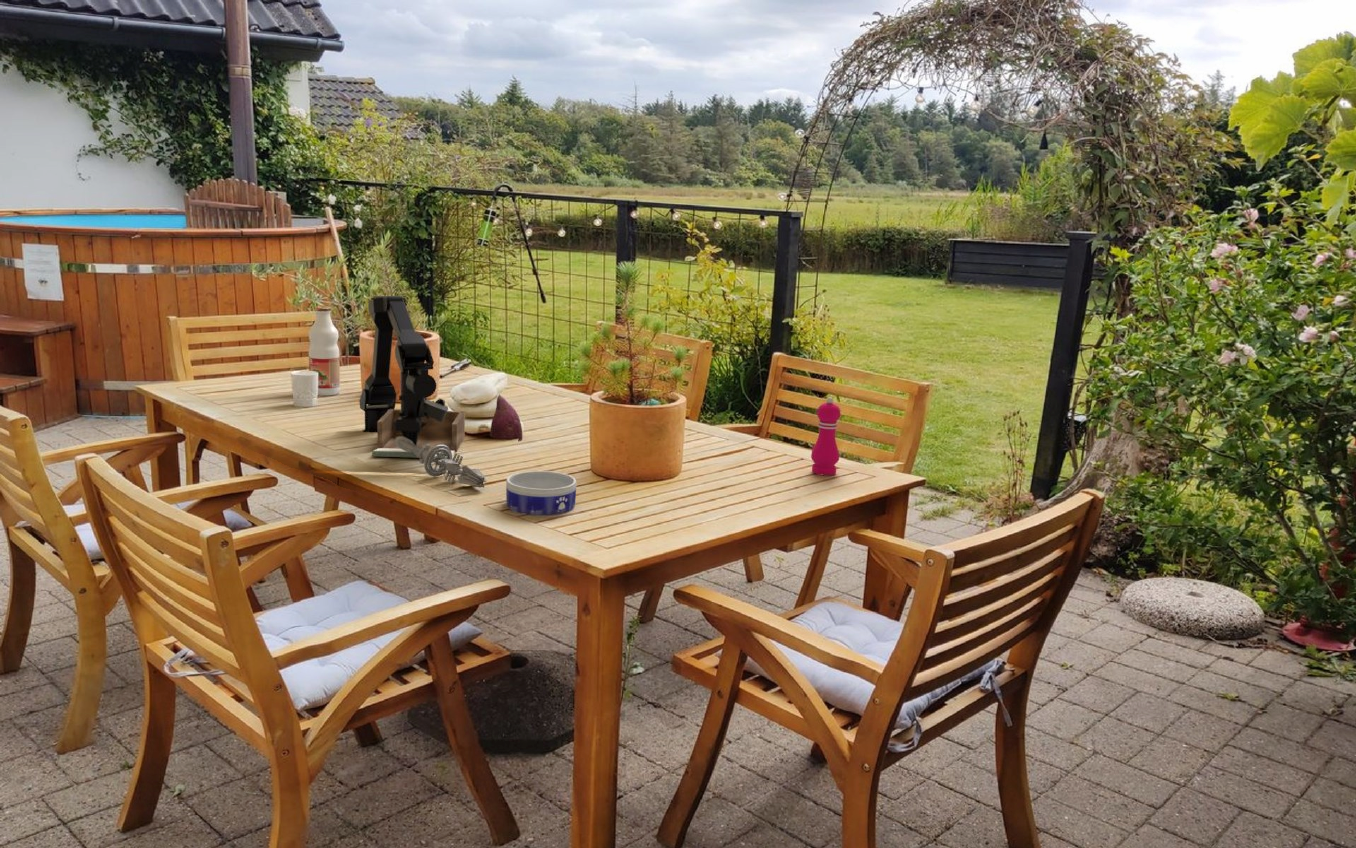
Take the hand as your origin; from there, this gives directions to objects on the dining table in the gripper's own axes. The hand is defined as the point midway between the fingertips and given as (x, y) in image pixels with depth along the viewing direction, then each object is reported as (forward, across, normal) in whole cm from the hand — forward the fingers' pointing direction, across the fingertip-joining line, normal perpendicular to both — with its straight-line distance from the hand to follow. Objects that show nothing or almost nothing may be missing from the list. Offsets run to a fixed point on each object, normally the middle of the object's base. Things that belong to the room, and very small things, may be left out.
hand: (413, 452), depth 259 cm
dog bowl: (+3, -36, -34) cm, 49 cm away
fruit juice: (+1, +81, +42) cm, 91 cm away
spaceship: (+3, -15, -8) cm, 17 cm away
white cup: (+1, +62, +43) cm, 75 cm away
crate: (+2, +15, 0) cm, 15 cm away
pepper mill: (+3, -1, -105) cm, 105 cm away
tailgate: (+1, +6, 0) cm, 6 cm away
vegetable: (+2, +27, -21) cm, 34 cm away
